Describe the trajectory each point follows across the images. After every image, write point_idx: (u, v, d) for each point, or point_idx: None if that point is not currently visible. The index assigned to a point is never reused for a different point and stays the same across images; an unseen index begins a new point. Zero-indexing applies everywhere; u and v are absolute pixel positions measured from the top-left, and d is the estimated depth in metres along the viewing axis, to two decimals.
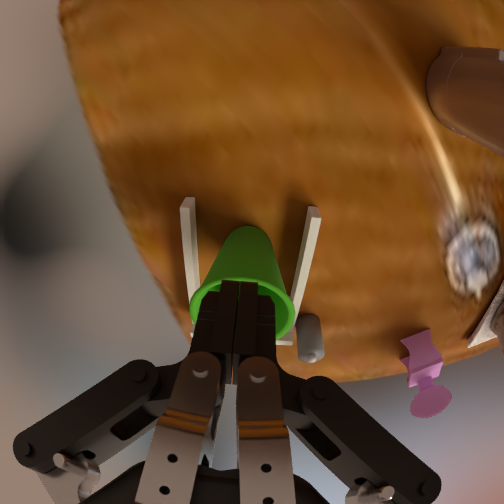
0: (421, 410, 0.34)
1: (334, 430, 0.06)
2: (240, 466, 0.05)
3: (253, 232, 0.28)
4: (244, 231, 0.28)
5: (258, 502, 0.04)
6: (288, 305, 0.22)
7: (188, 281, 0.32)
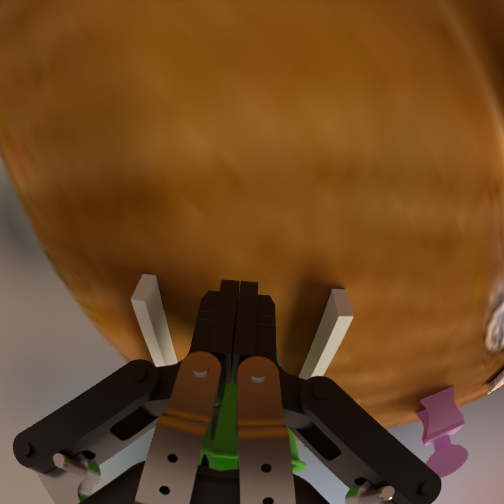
0: (435, 471, 0.24)
1: (334, 430, 0.06)
2: (240, 466, 0.05)
3: None
4: None
5: (258, 502, 0.04)
6: (297, 464, 0.11)
7: None
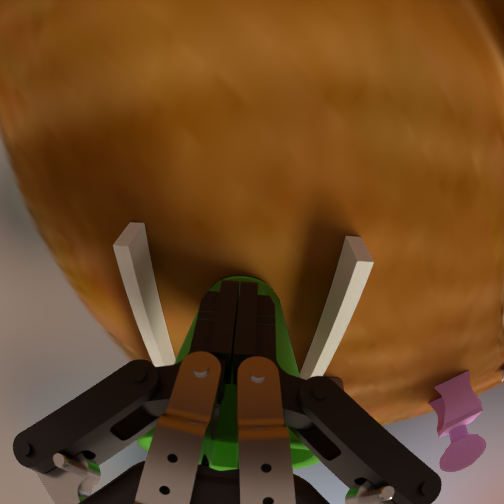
0: (452, 463, 0.21)
1: (334, 430, 0.06)
2: (240, 466, 0.05)
3: None
4: None
5: (258, 502, 0.04)
6: None
7: (150, 350, 0.19)
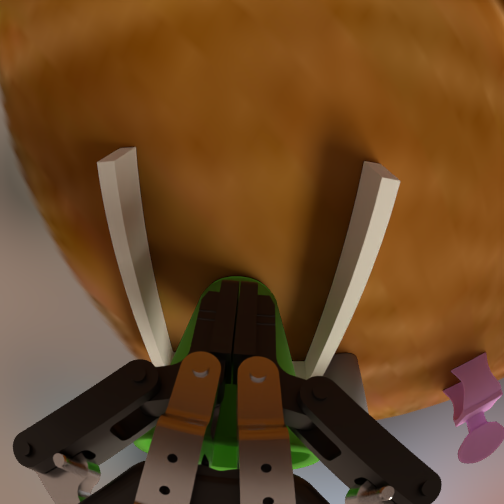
0: (470, 454, 0.19)
1: (334, 430, 0.06)
2: (240, 466, 0.05)
3: None
4: None
5: (258, 502, 0.04)
6: (312, 455, 0.09)
7: (135, 310, 0.16)
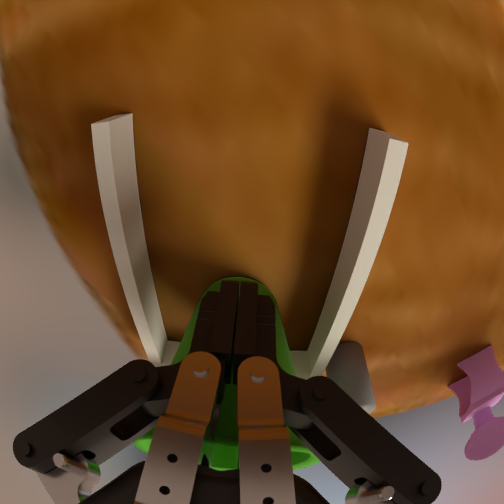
0: (478, 451, 0.18)
1: (334, 430, 0.06)
2: (240, 466, 0.05)
3: None
4: None
5: (258, 502, 0.04)
6: (313, 455, 0.09)
7: (126, 289, 0.15)
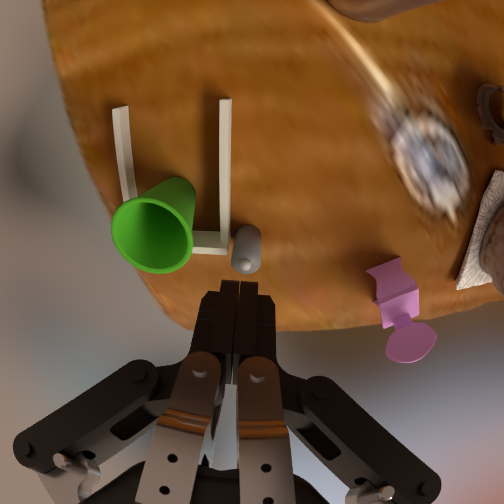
0: (399, 353, 0.33)
1: (334, 430, 0.06)
2: (240, 466, 0.05)
3: (176, 179, 0.32)
4: (169, 179, 0.32)
5: (258, 502, 0.04)
6: (184, 225, 0.25)
7: (121, 183, 0.31)
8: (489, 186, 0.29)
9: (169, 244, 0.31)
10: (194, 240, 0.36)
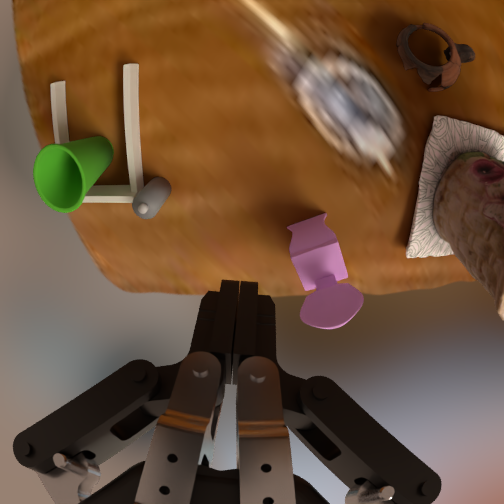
0: (316, 316, 0.33)
1: (334, 430, 0.06)
2: (240, 466, 0.05)
3: (95, 137, 0.31)
4: (90, 137, 0.31)
5: (258, 502, 0.04)
6: (78, 165, 0.24)
7: None
8: (431, 132, 0.29)
9: (81, 190, 0.30)
10: (110, 191, 0.35)
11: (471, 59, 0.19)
